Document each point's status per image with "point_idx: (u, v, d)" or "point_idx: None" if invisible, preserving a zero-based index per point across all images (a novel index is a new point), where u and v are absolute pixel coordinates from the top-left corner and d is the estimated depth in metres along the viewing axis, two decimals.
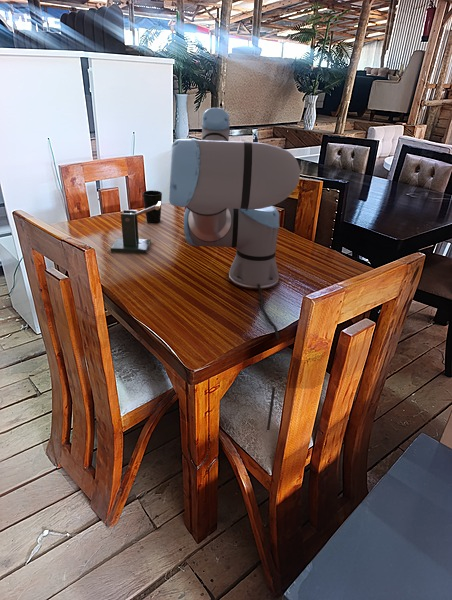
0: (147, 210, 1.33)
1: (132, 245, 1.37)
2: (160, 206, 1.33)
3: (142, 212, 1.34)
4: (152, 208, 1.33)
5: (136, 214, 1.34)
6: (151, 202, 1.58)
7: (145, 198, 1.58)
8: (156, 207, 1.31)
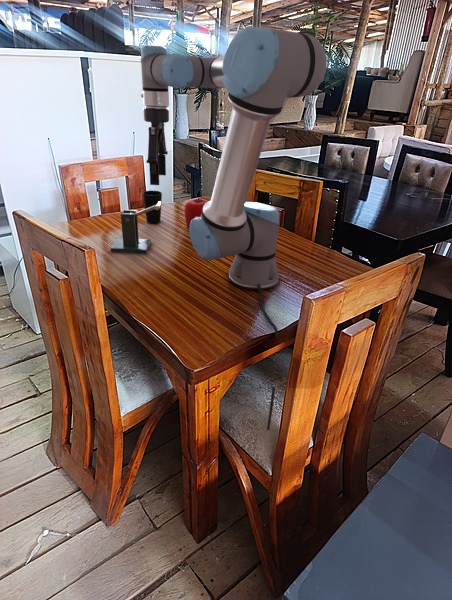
0: (147, 210, 1.33)
1: (132, 245, 1.37)
2: (160, 206, 1.33)
3: (142, 212, 1.34)
4: (152, 208, 1.33)
5: (136, 214, 1.34)
6: (151, 202, 1.58)
7: (145, 198, 1.58)
8: (156, 207, 1.31)
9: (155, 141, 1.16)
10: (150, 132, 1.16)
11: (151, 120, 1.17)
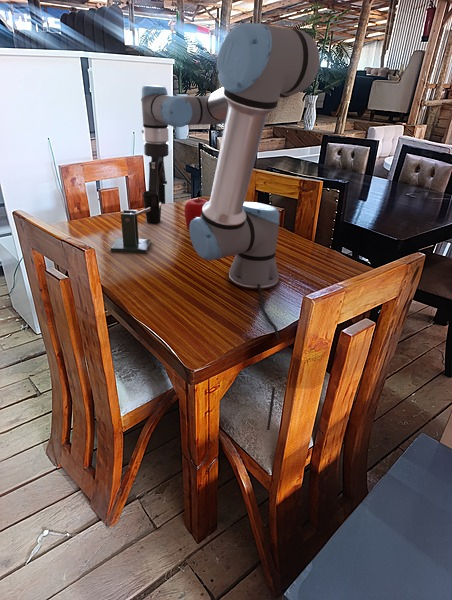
0: (147, 210, 1.33)
1: (132, 245, 1.37)
2: (160, 206, 1.33)
3: (142, 212, 1.34)
4: None
5: (136, 214, 1.34)
6: None
7: (145, 198, 1.58)
8: None
9: (155, 175, 1.21)
10: (150, 167, 1.20)
11: (151, 155, 1.22)
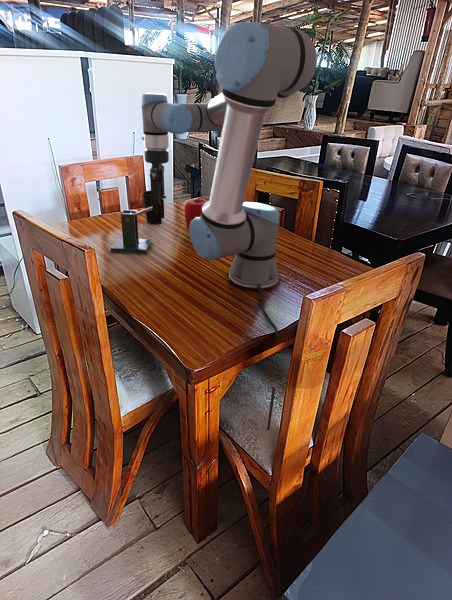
0: (147, 210, 1.33)
1: (132, 245, 1.37)
2: None
3: (142, 212, 1.34)
4: (152, 208, 1.33)
5: (136, 214, 1.34)
6: None
7: (145, 198, 1.58)
8: None
9: (157, 186, 1.24)
10: (151, 178, 1.23)
11: (152, 161, 1.23)
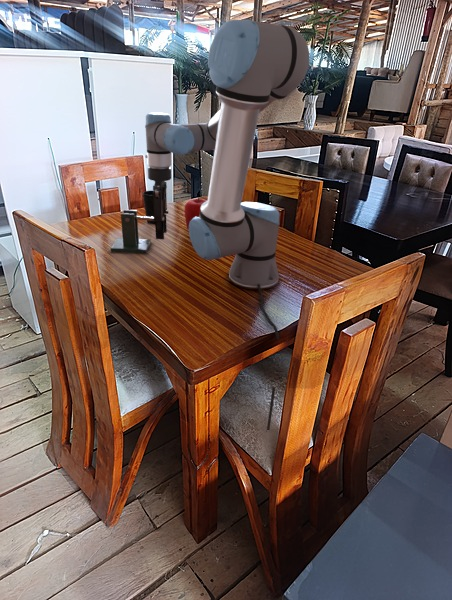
0: (149, 219, 1.35)
1: (132, 245, 1.37)
2: None
3: (144, 219, 1.35)
4: None
5: (137, 218, 1.35)
6: (151, 202, 1.58)
7: (145, 198, 1.58)
8: None
9: (159, 203, 1.26)
10: (154, 195, 1.25)
11: (155, 179, 1.25)
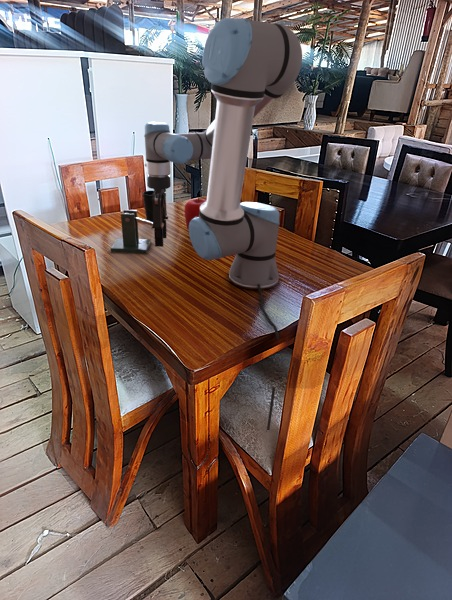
0: (149, 223, 1.36)
1: (132, 245, 1.37)
2: None
3: (143, 222, 1.35)
4: None
5: (137, 219, 1.35)
6: (151, 202, 1.58)
7: (145, 198, 1.58)
8: None
9: (159, 210, 1.27)
10: (154, 203, 1.26)
11: (154, 187, 1.27)
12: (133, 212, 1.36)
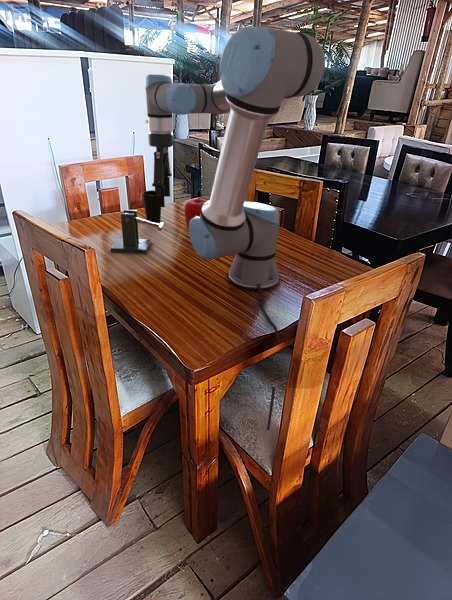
0: (149, 223, 1.36)
1: (132, 245, 1.37)
2: None
3: (143, 222, 1.35)
4: (154, 225, 1.36)
5: (137, 219, 1.35)
6: (151, 202, 1.58)
7: (145, 198, 1.58)
8: (159, 228, 1.34)
9: (160, 165, 1.19)
10: (155, 157, 1.19)
11: (156, 145, 1.20)
12: (133, 212, 1.36)
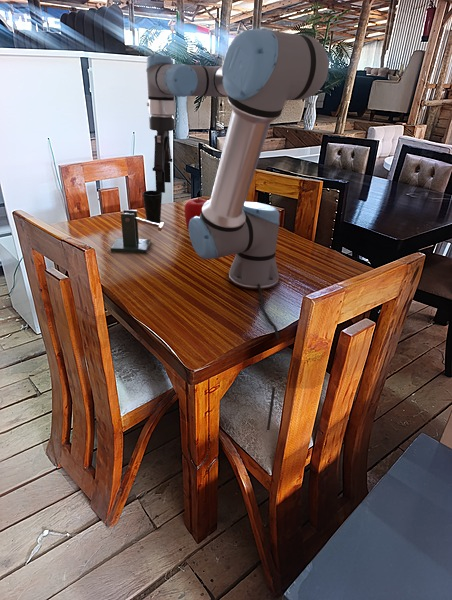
0: (149, 223, 1.36)
1: (132, 245, 1.37)
2: None
3: (143, 222, 1.35)
4: (154, 225, 1.36)
5: (137, 219, 1.35)
6: (151, 202, 1.58)
7: (145, 198, 1.58)
8: (159, 228, 1.34)
9: (161, 149, 1.17)
10: (156, 140, 1.17)
11: (157, 128, 1.18)
12: (133, 212, 1.36)
